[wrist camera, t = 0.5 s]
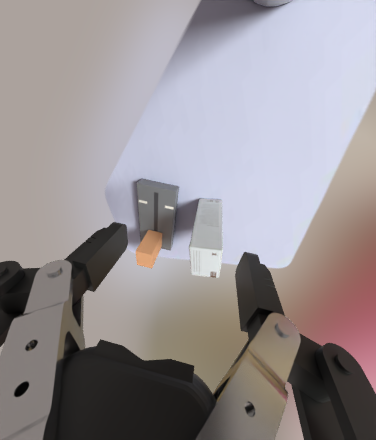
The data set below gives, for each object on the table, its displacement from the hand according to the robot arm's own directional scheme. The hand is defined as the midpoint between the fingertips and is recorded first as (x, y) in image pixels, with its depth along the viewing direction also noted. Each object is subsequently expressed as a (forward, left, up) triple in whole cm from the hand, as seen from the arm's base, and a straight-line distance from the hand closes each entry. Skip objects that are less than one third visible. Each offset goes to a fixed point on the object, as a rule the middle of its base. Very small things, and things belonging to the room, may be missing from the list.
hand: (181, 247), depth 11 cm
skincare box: (+9, +3, -18) cm, 20 cm away
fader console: (+12, -7, -18) cm, 23 cm away
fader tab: (+17, -7, -16) cm, 24 cm away
